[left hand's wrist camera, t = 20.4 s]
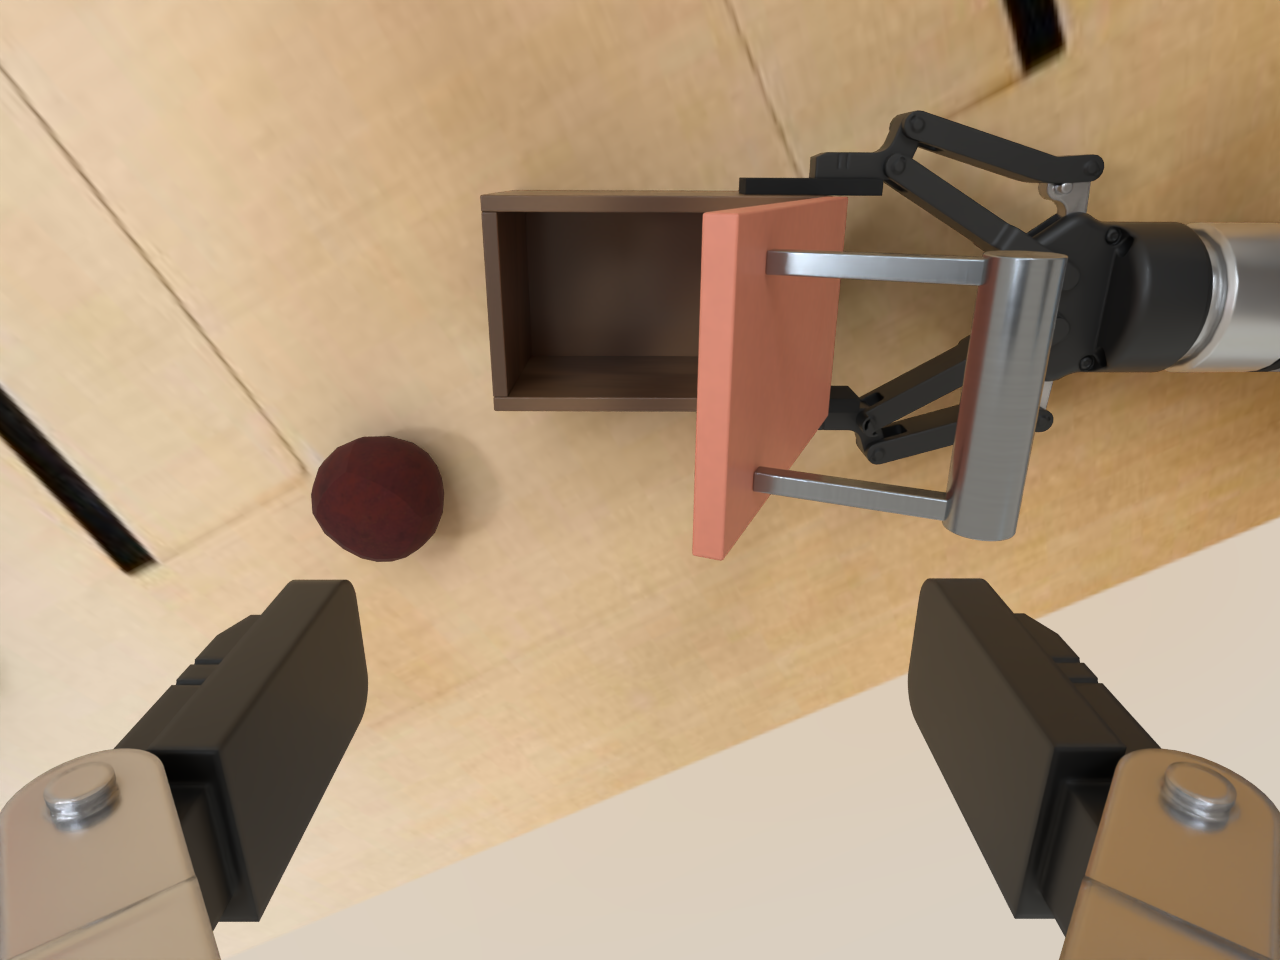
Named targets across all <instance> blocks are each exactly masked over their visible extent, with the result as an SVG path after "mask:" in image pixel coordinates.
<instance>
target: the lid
mask: <svg viewBox="0 0 1280 960" xmlns="http://www.w3.org/2000/svg"><path fill="white" fill-rule="evenodd" d="M847 204H848V198H847V197H820V198H812V199H804V200H797V201H789V202H781V203H774V204H766V205H758V206H750V207H743V208H735V209H727V210H720V211H712V212H705V213H704V214H703V223H702V255H701V288H700V321H699V353H698V386H697V419H696V451H695V484H694V517H693V549H692V553H693V555H694V556H700V557H705V558H710V559H715V560H723V559H724V558H725V556H726V555H727V554H728V552H729V551H730V549H731V548H732V547H733V545H734V544H735V543H736V541H737V540H738V538H739V537H740V536H741V534H742V533H743V532H744V530H745V529H746V527H747V526H748V525H749V523H750V522H751V521H752V519H753V518H754V517H755V515H756V514H757V512H758V511H759V510H760V508H761V507H762V506H763V504H764V503H765V501H766V500H767V499H768V497H769V496H770V495H771V494H774V495H781V496H787V497H794V498H800V499H807V500H813V501H819V502H826V503H832V504H839V505H845V506H852V507H858V508H865V509H871V510H878V511H884V512H891V513H897V514H904V515H910V516H916V517H923V518H929V519H936V520H942V523H943V525H944V527H945V528H946V529H948V530H949V531H951V532H953V533H955V534H957V535H960V536H963V537H966V538H970V539H975V540H981V541H1002V540H1006V539H1009V538H1011V537H1013V536H1014V534H1015V533H1016V527H1017V522H1018V517H1019V512H1020V506H1021V501H1022V496H1023V491H1024V486H1025V480H1026V475H1027V470H1028V465H1029V459H1030V454H1031V449H1032V444H1033V439H1034V433H1035V428H1036V423H1037V418H1038V412H1039V407H1040V402H1041V397H1042V392H1043V386H1044V381H1045V376H1046V371H1047V366H1048V360H1049V355H1050V350H1051V345H1052V339H1053V334H1054V329H1055V324H1056V319H1057V313H1058V308H1059V303H1060V298H1061V292H1062V287H1063V282H1064V277H1065V272H1066V266H1067V261H1068V256H1067V255H1064V254H1058V253H1050V252H1037V251H988V252H984V253H983V256H982V257H968V256H943V255H918V254H893V253H867V252H843V247H844V236H845V226H846V215H847ZM841 279H861V280H880V281H899V282H918V283H938V284H957V285H976V286H978V288H977V295H976V301H975V308H974V314H973V321H972V327H971V334H970V340H969V347H968V353H967V360H966V366H965V373H964V379H963V386H962V392H961V399H960V405H959V412H958V418H957V425H956V431H955V438H954V444H953V451H952V457H951V464H950V470H949V477H948V483H947V490H946V493H945V492H938V491H931V490H924V489H917V488H910V487H903V486H896V485H889V484H882V483H875V482H868V481H861V480H854V479H847V478H840V477H833V476H825V475H818V474H811V473H804V472H797V471H790V470H789V468H790V467H791V466H792V464H793V463H794V462H795V460H796V459H797V457H798V456H799V455H800V453H801V452H802V451H803V449H804V448H805V446H806V445H807V444H808V442H809V441H810V440H811V438H812V437H813V436H814V434H815V433H816V431H817V430H818V429H819V427H820V426H821V425H822V423H823V422H824V420H825V419H826V418H827V416H828V409H829V398H830V388H831V377H832V366H833V355H834V344H835V334H836V323H837V312H838V301H839V290H840V280H841Z"/></svg>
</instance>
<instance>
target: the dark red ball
mask: <svg viewBox="0 0 1280 960" xmlns="http://www.w3.org/2000/svg"><path fill="white" fill-rule="evenodd" d="M311 498H312V511H313V515H314V516H315V518H316V520H317V521H318V523H319V525H320V526H321V528H322V530H323V531H324V533H325V534H326V535H327V536H329V537H330V538H331V539H332V540H333V541H335V542H336V543H337V544H338V545H339V546H341V547H342V548H343V549H345V550H347V551H348V552H350V553H352V554H354V555H356V556H358V557H360V558H363V559H367V560H372V561H376V562H387V561H395V560H398V559H402V558H405V557H407V556H409V555H410V554H412V553H413V552H415V551H416V550H418V549H419V548H420V547H422V546H423V545H424V544H425V543H426V542H427V541H428V540H429V539H430V537H431V536H432V535H433V534H434V533H435V531H436V529H437V526H438V523H439V521H440V518H441V515H442V513H443V501H444V490H443V483H442V478H441V475H440V472H439V470H438V467H437V465H436V464H435V462H434V461H433V460H432V458H431V457H430V456H429V454H428V453H427V452H425V451H424V450H422V449H421V448H420V447H418V446H417V445H415V444H414V443H412V442H408V441H404V440H401V439H397V438H393V437H390V436H380V437H362V438H358V439H356V440H354V441H351V442H349V443H347V444H345V445H342V446H340V447H338V448H337V449H336V450H335V451H334V452H333V453H332V454H331V455H330V456H329V457H328V458H327V459H326V460H325V461H324V462H323V463H322V465H321V466H320V467H319V469H318V472H317V475H316V478H315V481H314V484H313V488H312V493H311Z"/></svg>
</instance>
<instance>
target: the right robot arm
mask: <svg viewBox="0 0 1280 960" xmlns="http://www.w3.org/2000/svg"><path fill="white" fill-rule="evenodd" d="M889 130H890V131H889V134H888V136H887V138H886V140H885V142H884V144H883V146H882V147H881V148H880V149H879V150H877V151H875V152H873V153H861V152H826V153H820V154H818V155H815V156H813V157H811V159H810V173H809V178H739V193H740V194H745V195H849V196H882V190H883V182H884V183H885V184H887V185H888V186H890V187H891V188H893V189H894V190H896V191H897V192H899V193H900V194H902V195H903V196H905V197H906V198H908V199H909V200H911V201H912V202H914V203H915V204H917V205H918V206H920V207H921V208H923V209H924V210H926V211H927V212H929V213H930V214H932V215H933V216H935V217H936V218H938V219H939V220H941V221H942V222H944V223H945V224H947V225H948V226H950V227H951V228H953V229H954V230H956V231H957V232H959V233H960V234H962V235H963V236H965V237H966V238H968V239H969V240H971V241H972V242H973V243H974V244H975V245H976V246H977V247H979V248H980V249H982V250H983V251H985V252H988V251H1037V252H1050V253H1058V254H1064V255H1067V256H1068V261H1067V266H1066V272H1065V277H1064V282H1063V287H1062V292H1061V298H1060V303H1059V308H1058V313H1057V319H1056V324H1055V329H1054V334H1053V339H1052V345H1051V350H1050V355H1049V360H1048V366H1047V371H1046V376H1045V381H1044V386H1043V392H1042V397H1041V402H1040V407H1039V412H1038V418H1037V423H1036V428H1035V432H1044V431H1046V430H1048V429H1049V428H1050V427H1051V425H1052V423H1053V416H1052V414H1051V413H1050V412H1049V411H1047V410H1046V407H1047V403H1048V399H1049V395H1050V391H1051V387H1052V383H1053V381H1055V380H1058V379H1060V378H1062V377H1064V376H1066V375H1068V374H1072V373H1076V372H1158V371H1161V370H1166V371H1168V372H1268V371H1273V372H1280V223H1259V222H1197V223H1189V224H1186V225H1185V224H1182V223H1178V222H1101V221H1099V220H1097V219H1095V218H1093V217H1092V216H1091V215H1089V214H1087V213H1086V212H1087V204H1088V197H1089V190H1090V182H1091V181H1094V180H1096V179H1097V178H1099V177H1100V175H1101V174H1102V173H1103V169H1104V162H1103V160H1102V158H1101V157H1100V156H1098V155H1068V156H1053V155H1050V154H1047V153H1044V152H1041V151H1038V150H1036V149H1033V148H1030V147H1027V146H1024V145H1021V144H1018V143H1015V142H1012V141H1009V140H1006V139H1003V138H1000V137H997V136H994V135H992V134H989V133H986V132H983V131H980V130H977V129H974V128H971V127H968V126H965V125H962V124H959V123H956V122H953V121H950V120H947V119H945V118H942V117H939V116H936V115H933V114H930V113H927V112H924V111H913V112H909V113H904V114H900V115H897V116H896V117H895V118H893V120H892V121H891V123H890V127H889ZM917 147H919V148H922V149H925V150H928V151H931V152H934V153H937V154H940V155H943V156H946V157H949V158H952V159H955V160H958V161H961V162H964V163H967V164H970V165H973V166H975V167H978V168H981V169H984V170H987V171H990V172H993V173H996V174H999V175H1002V176H1005V177H1008V178H1011V179H1014V180H1018V181H1022V182H1029V183H1039V186H1038V190H1039V194H1040V196H1041V197H1042V198H1044V199H1046V200H1051V201H1053V202H1054V203H1055V204H1056V206H1057V214H1055V215H1053V216H1052V217H1050V218H1049V219H1047V220H1046V221H1044V222H1043V223H1041V224H1040V225H1038V226H1037V227H1035V228H1034V229H1032V230H1031V231H1029V232H1028V233H1025V232H1023V231H1022V230H1020V229H1018V228H1016V227H1014V226H1012V225H1010V224H1008V223H1006V222H1005V221H1003V220H1002V219H1000V218H999V217H997V216H996V215H995V214H993V213H992V212H990V211H989V210H987V209H986V208H984V207H983V206H981V205H980V204H978V203H977V202H975V201H974V200H972V199H971V198H969V197H968V196H967V195H965V194H964V193H962V192H961V191H959V190H958V189H956V188H955V187H953V186H952V185H950V184H949V183H947V182H946V181H944V180H943V179H941V178H940V177H939V176H937V175H936V174H934V173H933V172H931V171H930V170H928V169H927V168H925V167H924V166H922V165H921V164H919V163H918V162H916V161H915V160H913V159H912V158H913V156H914V154H915V152H916V149H917ZM969 340H970V335H969V336H968V337H966V338H964V339H962V340H961V341H960V342H959V344H958V345H957V346H955V347H954V348H952V349H950V350H948V351H946V352H944V353H942V354H941V355H939V356H937V357H935V358H933V359H931V360H929V361H927V362H925V363H924V364H922V365H920V366H918V367H916V368H914V369H912V370H910V371H908V372H907V373H905V374H903V375H901V376H899V377H897V378H895V379H893V380H891V381H890V382H888V383H886V384H884V385H882V386H880V387H878V388H876V389H874V390H873V391H871V392H869V393H867V394H865V395H863V396H861V397H858V396H857V395H856V394H855V393H854V392H853V391H852V390H851V389H850V388H849V387H848V386H831V388H830V398H829V409H828V416H827V418H826V419H825V420H824V422H823V423H822V425H821V426H820V427H819V429H818V430H852V431H854V432H855V435H856V444H857V446H858V447H859V449H860V450H861V451H862V452H863V454H864V455H865V456H866V457H867V459H868V460H869V461H870V462H871V463H873V464H883V463H886V462H890V461H894V460H898V459H901V458H905V457H909V456H913V455H916V454H920V453H924V452H928V451H931V450H935V449H939V448H943V447H946V446H950V445H953V444H954V438H955V431H956V425H957V418H958V412H959V405H956V406H952V407H948V408H945V409H941V410H937V411H934V412H930V413H926V414H923V415H919V416H915V417H912V418H908V419H904V420H900V421H897V422H894V421H896V420H898V419H900V418H901V417H903V416H905V415H907V414H909V413H911V412H913V411H915V410H917V409H919V408H921V407H923V406H925V405H927V404H928V403H930V402H932V401H934V400H936V399H938V398H940V397H942V396H944V395H946V394H948V393H950V392H952V391H953V390H955V389H957V388H959V387H961V386H963V379H964V373H965V366H966V360H967V353H968V347H969ZM892 422H893V423H892Z"/></svg>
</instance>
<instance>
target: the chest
mask: <svg viewBox="0 0 1280 960" xmlns="http://www.w3.org/2000/svg"><path fill="white" fill-rule="evenodd" d="M820 197H833V196H826V195H745V194H740V193H739V191H603V190H512V191H505V192H498V193H491V194H484V195H481V196H480V198H481V211H482V229H483V244H484V260H485V275H486V291H487V306H488V322H489V337H490V352H491V368H492V383H493V396H494V410H495V411H697V386H698V353H699V321H700V288H701V255H702V223H703V214H704V213H705V212H712V211H720V210H727V209H735V208H743V207H750V206H758V205H766V204H774V203H781V202H789V201H797V200H804V199H812V198H820Z"/></svg>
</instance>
